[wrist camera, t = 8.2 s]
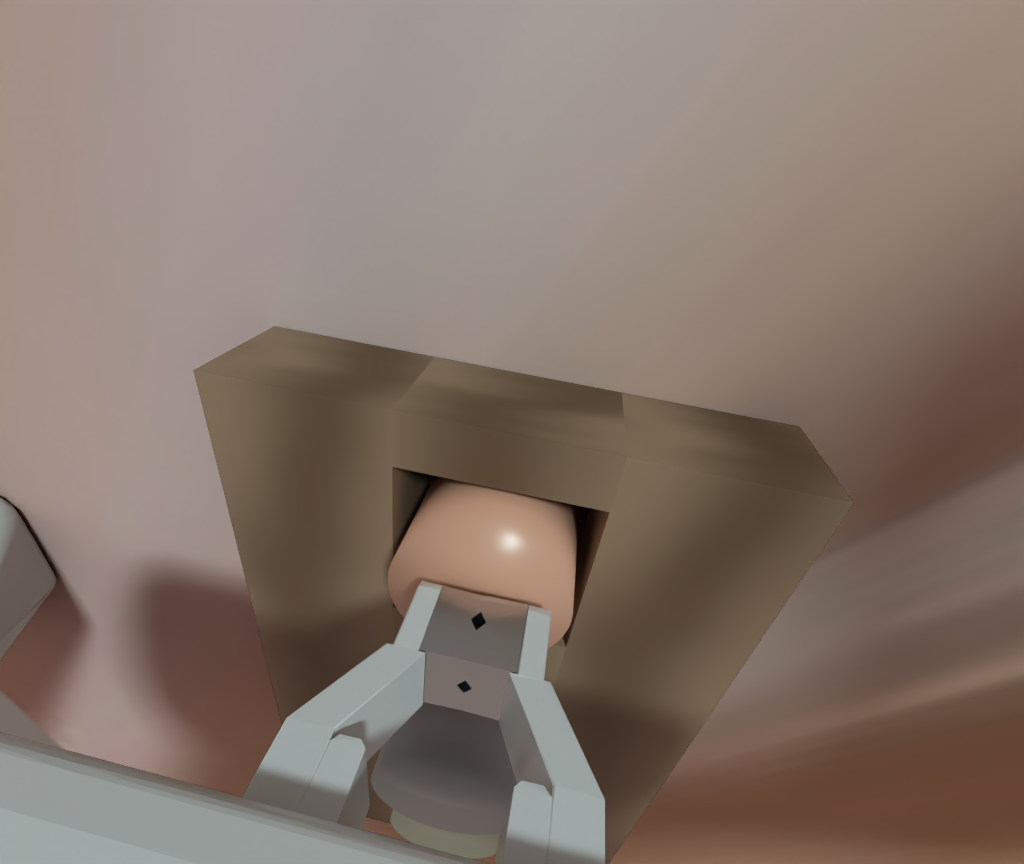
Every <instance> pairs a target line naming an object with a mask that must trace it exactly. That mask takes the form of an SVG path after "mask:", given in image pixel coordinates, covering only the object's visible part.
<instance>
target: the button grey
mask: <svg viewBox="0 0 1024 864" xmlns="http://www.w3.org/2000/svg"><path fill="white" fill-rule="evenodd" d="M371 784H372V787H373V789H374V791H375V792H376V794H377V795H378V796H379V797H380V799H381V800H383V801H384V802H385V803H386V804H387V805H388V806H390V807H391V808H392V809H394V810H396V811H397V812H399V813H400V814H402V815H404V816H406V817H408V818H410V819H412V820H414V821H417V822H419V823H422V824H424V825H427V826H430V827H433V828H437V829H440V830H444V831H449V832H454V833H460V834H469V835H489V834H496V833H500V832H501V829H502V825H503V822H504V819H505V815H506V812H507V809H508V806H509V802H510V799H511V796H512V792H513V789H514V787H515V786H516V785H517V782H516V779H515V776H514V772H513V769H512V766H511V762H510V759H509V755H508V752H507V749H506V745H505V742H504V739H503V735H502V732H501V728H500V725H499V721H498V720H495V719H491V718H488V717H484V716H480V715H477V714H473V713H470V712H466V711H462V709H461V710H458V709H453V708H449V707H444V706H440V705H435V704H430V703H426V702H423V705H422V706H421V707H420V708H419V709H418V710H417V711H416V712H415V713H414V714H413V715H412V716H411V717H410V718H409V719H408V720H407V721H406V722H405V723H404V724H403V725H402V726H401V727H400V728H399V729H398V731H397V732H396V733H395V734H394V735H393V736H392V737H391V738H390V739H389V740H388V741H387V742H386V743H385V744H384V745H383V746H382V748H381V751H380V754H379V756H378V759H377V762H376V764H375V767H374V770H373V773H372V775H371Z"/></svg>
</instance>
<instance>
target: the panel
mask: <svg viewBox="0 0 1024 864" xmlns="http://www.w3.org/2000/svg"><path fill="white" fill-rule="evenodd" d="M194 374H195V378H196V382H197V386H198V390H199V394H200V398H201V402H202V406H203V410H204V414H205V418H206V422H207V426H208V430H209V434H210V438H211V442H212V446H213V450H214V454H215V458H216V462H217V466H218V470H219V474H220V478H221V482H222V486H223V491H224V495H225V499H226V503H227V507H228V511H229V515H230V519H231V523H232V527H233V531H234V535H235V539H236V543H237V547H238V551H239V555H240V559H241V563H242V567H243V571H244V575H245V579H246V583H247V587H248V591H249V595H250V599H251V603H252V607H253V611H254V615H255V619H256V623H257V627H258V631H259V635H260V639H261V643H262V647H263V651H264V655H265V659H266V663H267V667H268V671H269V675H270V679H271V683H272V687H273V691H274V695H275V699H276V703H277V707H278V711H279V715H280V719H281V723H282V725H283V723H284V722H285V720H286V718H287V717H288V716H290V715H291V714H292V713H294V712H295V711H296V710H298V709H299V708H300V707H302V706H303V705H304V704H306V703H307V702H308V701H310V700H311V699H312V698H314V697H315V696H316V695H318V694H319V693H320V692H322V691H323V690H324V689H326V688H327V687H328V686H330V685H331V684H332V683H334V682H335V681H336V680H338V679H339V678H341V677H342V676H343V675H345V674H346V673H347V672H349V671H350V670H351V669H353V668H354V667H355V666H357V665H358V664H359V663H361V662H362V661H363V660H365V659H366V658H367V657H369V656H370V655H371V654H373V653H374V652H375V651H377V650H378V649H379V648H381V647H382V646H383V645H385V644H386V643H389V644H394V641H395V639H396V636H397V634H398V632H399V629H400V627H401V625H402V622H403V620H404V617H403V616H402V615H401V614H400V612H399V611H398V609H397V608H396V606H395V605H394V602H393V600H392V598H391V595H390V592H389V588H388V571H389V568H390V564H391V562H392V560H393V558H394V556H395V554H396V552H397V550H398V548H399V546H400V544H401V542H402V541H403V539H404V537H405V535H406V533H407V531H408V529H409V527H410V525H411V523H412V521H413V519H414V517H415V515H416V513H417V511H418V509H419V507H420V505H421V503H422V501H423V499H424V497H425V495H426V493H427V491H428V484H429V475H434V476H439V477H443V478H448V479H453V480H458V481H462V482H467V483H472V484H477V485H482V486H486V487H491V488H496V489H501V490H506V491H510V492H515V493H520V494H525V495H529V496H534V497H539V498H544V499H549V500H553V501H558V502H563V503H568V504H572V505H577V506H582V507H587V508H589V509H588V512H587V516H586V519H585V523H584V526H583V530H582V533H581V536H580V540H579V543H578V547H577V555H576V572H575V588H574V605H573V616H572V620H571V623H570V626H569V628H568V630H567V631H566V633H565V634H564V636H563V637H562V638H561V639H560V640H559V641H558V642H557V643H555V644H554V645H553V646H551V647H550V648H548V649H547V658H546V667H545V676H544V680H545V681H548V682H551V684H552V686H553V688H554V690H555V693H556V695H557V697H558V699H559V701H560V703H561V706H562V708H563V710H564V712H565V714H566V716H567V719H568V721H569V723H570V725H571V727H572V729H573V732H574V734H575V736H576V738H577V740H578V742H579V745H580V747H581V749H582V751H583V753H584V755H585V758H586V760H587V762H588V764H589V766H590V768H591V771H592V773H593V775H594V777H595V779H596V781H597V784H598V786H599V788H600V790H601V792H602V794H603V797H604V799H605V864H609V863H610V861H611V860H612V858H613V857H614V855H615V854H616V852H617V851H618V849H619V848H620V847H621V845H622V844H623V842H624V841H625V839H626V838H627V836H628V835H629V833H630V832H631V830H632V829H633V827H634V826H635V824H636V823H637V822H638V820H639V819H640V817H641V816H642V814H643V813H644V811H645V810H646V808H647V807H648V805H649V804H650V802H651V801H652V799H653V798H654V796H655V795H656V794H657V792H658V791H659V789H660V788H661V786H662V785H663V783H664V782H665V780H666V779H667V777H668V776H669V774H670V773H671V771H672V770H673V769H674V767H675V766H676V764H677V763H678V761H679V760H680V758H681V757H682V755H683V754H684V752H685V751H686V749H687V748H688V746H689V745H690V743H691V742H692V741H693V739H694V738H695V736H696V735H697V733H698V732H699V730H700V729H701V727H702V726H703V724H704V723H705V721H706V720H707V718H708V717H709V715H710V714H711V713H712V711H713V710H714V708H715V707H716V705H717V704H718V702H719V701H720V699H721V698H722V696H723V695H724V693H725V692H726V690H727V689H728V688H729V686H730V685H731V683H732V682H733V680H734V679H735V677H736V676H737V674H738V673H739V671H740V670H741V668H742V667H743V665H744V664H745V662H746V661H747V660H748V658H749V657H750V655H751V654H752V652H753V651H754V649H755V648H756V646H757V645H758V643H759V642H760V640H761V639H762V637H763V636H764V635H765V633H766V632H767V630H768V629H769V627H770V626H771V624H772V623H773V621H774V620H775V618H776V617H777V615H778V614H779V612H780V611H781V609H782V608H783V607H784V605H785V604H786V602H787V601H788V599H789V598H790V596H791V595H792V593H793V592H794V590H795V589H796V587H797V586H798V584H799V583H800V581H801V580H802V579H803V577H804V576H805V574H806V573H807V571H808V570H809V568H810V567H811V565H812V564H813V562H814V561H815V559H816V558H817V556H818V555H819V554H820V552H821V551H822V549H823V548H824V546H825V545H826V543H827V542H828V540H829V539H830V537H831V536H832V534H833V533H834V531H835V530H836V528H837V527H838V526H839V524H840V523H841V521H842V520H843V518H844V517H845V515H846V514H847V512H848V511H849V509H850V508H851V506H852V505H853V503H854V502H853V501H852V499H851V498H850V496H849V495H848V494H847V492H846V491H845V489H844V488H843V487H842V485H841V484H840V483H839V481H838V480H837V478H836V477H835V476H834V474H833V473H832V471H831V470H830V469H829V467H828V466H827V464H826V463H825V462H824V460H823V459H822V457H821V456H820V455H819V453H818V452H817V450H816V449H815V448H814V446H813V445H812V443H811V442H810V441H809V439H808V438H807V436H806V435H805V434H804V432H803V431H802V429H801V428H800V427H797V426H792V425H787V424H782V423H776V422H771V421H766V420H761V419H756V418H750V417H745V416H740V415H735V414H729V413H724V412H719V411H714V410H708V409H703V408H698V407H693V406H688V405H682V404H677V403H672V402H667V401H661V400H656V399H651V398H646V397H641V396H635V395H630V394H625V393H620V392H614V391H609V390H604V389H599V388H594V387H588V386H583V385H578V384H573V383H567V382H562V381H557V380H552V379H547V378H541V377H536V376H531V375H526V374H520V373H515V372H510V371H505V370H500V369H494V368H489V367H484V366H479V365H473V364H468V363H463V362H458V361H453V360H447V359H442V358H437V357H432V356H426V355H421V354H416V353H411V352H406V351H400V350H395V349H390V348H385V347H379V346H374V345H369V344H364V343H359V342H353V341H348V340H343V339H338V338H332V337H327V336H322V335H317V334H312V333H306V332H301V331H296V330H291V329H285V328H280V327H275V326H274V327H272V328H271V329H269V330H267V331H265V332H263V333H261V334H260V335H258V336H256V337H254V338H252V339H250V340H248V341H247V342H245V343H243V344H241V345H239V346H237V347H235V348H234V349H232V350H230V351H228V352H226V353H224V354H223V355H221V356H219V357H217V358H215V359H213V360H211V361H210V362H208V363H206V364H204V365H202V366H200V367H199V368H197V369H195V370H194ZM381 748H382V747H381ZM381 748H380V749H379V750H378V751H377V752H376V753H375V754H374V755H373V756H372V757H371V758H370V759H369V760H368V761H367V774H368V788H369V802H370V806H369V809H368V812H367V815H366V817H368V818H372V819H375V820H379V821H383V822H387V823H391V821H390V819H391V815H392V812H393V809H392V808H391V807H390V806H388V805H387V804H386V803H385V802H384V801H383V800H381V799H380V797H379V796H378V795H377V794H376V792H375V791H374V789H373V787H372V784H371V775H372V773H373V770H374V767H375V764H376V762H377V759H378V756H379V754H380V751H381Z"/></svg>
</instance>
